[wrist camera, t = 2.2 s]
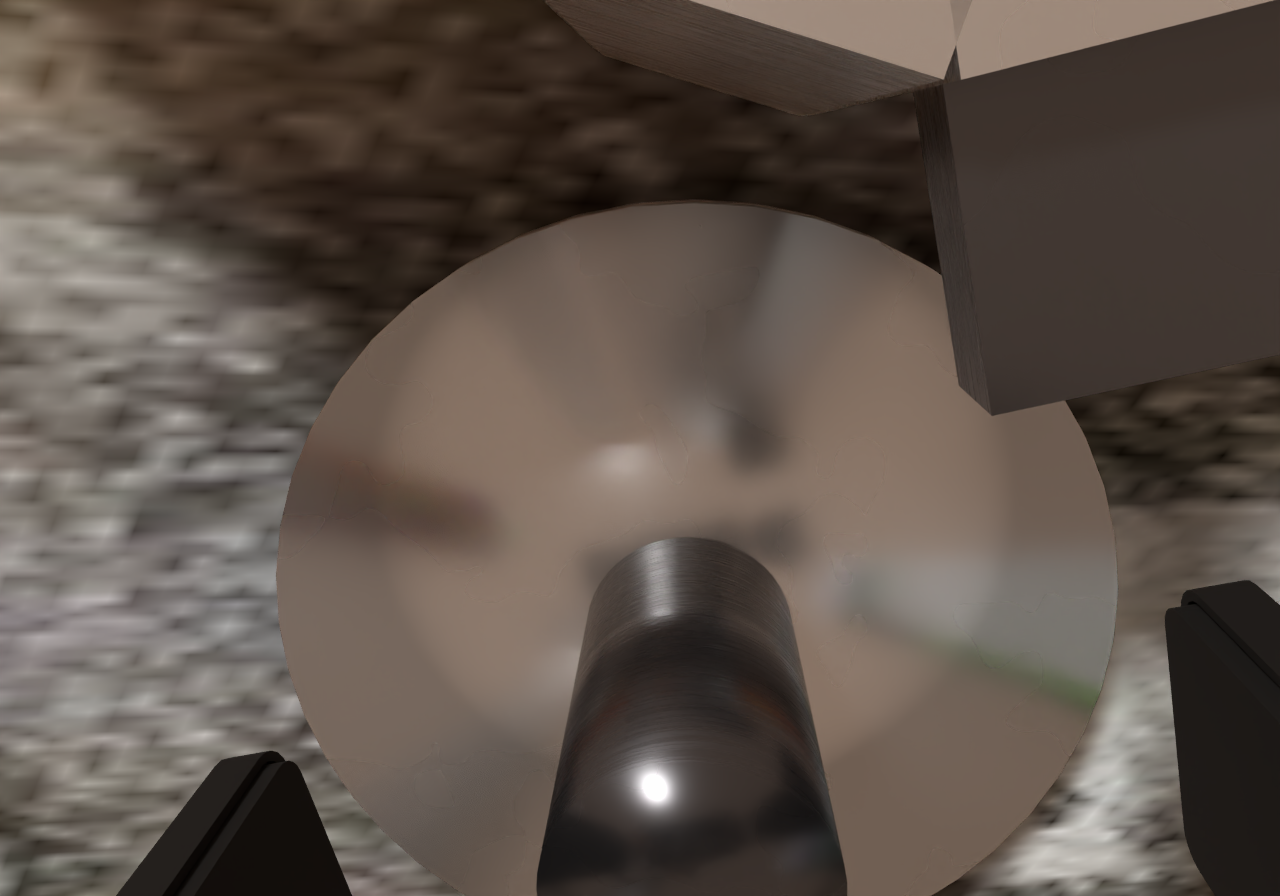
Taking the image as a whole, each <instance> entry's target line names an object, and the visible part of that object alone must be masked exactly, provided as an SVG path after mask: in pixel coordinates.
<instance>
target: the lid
mask: <svg viewBox="0 0 1280 896" xmlns="http://www.w3.org/2000/svg"><path fill="white" fill-rule="evenodd" d="M276 581H277V597H278V614H279V626H280V631H281V636H282V640H283V645H284V650H285V655H286V660H287V665H288V670H289V673H290V676H291V679H292V681H293V684H294V687H295V690H296V693H297V696H298V698H299V701H300V704H301V707H302V710H303V713H304V715H305V717H306V719H307V721H308V723H309V725H310V727H311V729H312V731H313V733H314V735H315V737H316V739H317V741H318V743H319V745H320V747H321V749H322V751H323V753H324V755H325V757H326V758H327V760H328V761H329V763H330V764H331V766H332V767H333V769H334V770H335V771H336V773H337V774H338V776H339V777H340V779H341V780H342V782H343V783H344V785H345V786H346V788H347V789H348V791H349V792H350V793H351V795H352V796H353V798H354V799H355V800H356V801H357V802H358V803H359V804H360V805H361V807H362V808H363V809H364V810H365V811H366V812H367V813H368V815H369V816H370V817H371V818H372V819H373V820H374V821H375V822H376V824H377V825H378V826H379V827H380V828H381V829H382V830H383V832H385V833H386V834H387V835H388V836H389V837H390V838H391V839H392V840H393V841H395V842H396V843H397V844H398V845H399V846H400V847H401V848H402V849H404V850H405V851H406V852H407V853H408V854H409V855H410V856H411V857H412V858H414V859H415V860H416V861H417V862H418V863H419V864H421V865H422V866H423V867H425V868H426V869H428V870H429V871H431V872H432V873H433V874H435V875H436V876H438V877H439V878H440V879H442V880H443V881H445V882H446V883H448V884H449V885H450V886H452V887H453V888H455V889H456V890H457V891H459V892H461V893H463V894H465V895H466V896H932V895H933V894H935V893H936V892H938V891H940V890H941V889H943V888H945V887H946V886H948V885H949V884H951V883H953V882H954V881H956V880H957V879H959V878H960V877H961V876H963V875H964V874H965V873H966V872H968V871H969V870H970V869H971V868H973V867H974V866H975V865H976V864H978V863H979V862H980V861H981V860H983V859H984V858H985V857H986V856H988V855H989V854H990V853H992V852H993V851H994V850H995V849H996V848H997V847H998V846H999V845H1000V844H1001V843H1002V842H1003V841H1004V840H1005V839H1006V838H1007V837H1008V836H1009V835H1010V834H1011V833H1012V832H1013V831H1014V830H1015V829H1016V828H1017V827H1018V826H1019V825H1020V824H1021V823H1022V822H1023V821H1024V820H1025V819H1026V818H1027V817H1028V816H1029V815H1030V814H1031V812H1032V811H1033V810H1034V808H1035V807H1036V806H1037V805H1038V803H1039V802H1040V801H1041V799H1042V798H1043V797H1044V795H1045V794H1046V793H1047V791H1048V790H1049V789H1050V787H1051V786H1052V785H1053V784H1054V782H1055V781H1056V780H1057V778H1058V777H1059V776H1060V774H1061V772H1062V770H1063V769H1064V767H1065V765H1066V763H1067V762H1068V760H1069V758H1070V756H1071V755H1072V753H1073V751H1074V749H1075V748H1076V746H1077V744H1078V742H1079V741H1080V739H1081V737H1082V735H1083V734H1084V731H1085V729H1086V726H1087V724H1088V721H1089V719H1090V716H1091V714H1092V711H1093V709H1094V706H1095V704H1096V701H1097V699H1098V696H1099V694H1100V691H1101V689H1102V685H1103V681H1104V677H1105V673H1106V669H1107V665H1108V661H1109V657H1110V652H1111V648H1112V644H1113V640H1114V630H1115V620H1116V609H1117V598H1118V576H1117V559H1116V541H1115V534H1114V530H1113V525H1112V520H1111V516H1110V511H1109V506H1108V501H1107V497H1106V492H1105V487H1104V485H1103V482H1102V479H1101V477H1100V474H1099V471H1098V469H1097V466H1096V463H1095V461H1094V458H1093V455H1092V453H1091V450H1090V448H1089V445H1088V442H1087V440H1086V437H1085V435H1084V433H1083V432H1082V430H1081V428H1080V426H1079V424H1078V423H1077V421H1076V419H1075V417H1074V416H1073V414H1072V412H1071V410H1070V409H1069V407H1068V405H1067V403H1066V401H1060V402H1055V403H1051V404H1046V405H1041V406H1036V407H1032V408H1027V409H1022V410H1018V411H1013V412H1008V413H1004V414H999V415H994V416H991V415H990V414H989V413H988V412H987V411H986V410H985V409H984V408H982V407H981V406H980V405H979V404H978V403H977V402H976V401H975V400H974V399H973V398H972V397H970V396H969V395H968V394H967V393H966V392H965V391H964V390H963V389H962V388H961V387H960V386H959V384H958V377H957V371H956V364H955V358H954V352H953V345H952V339H951V332H950V326H949V320H948V313H947V307H946V300H945V294H944V288H943V281H942V275H940V274H939V273H937V272H936V271H934V270H933V269H932V268H930V267H928V266H927V265H925V264H923V263H921V262H920V261H918V260H916V259H914V258H912V257H910V256H908V255H906V254H904V253H903V252H901V251H899V250H897V249H895V248H893V247H891V246H889V245H887V244H885V243H883V242H881V241H879V240H877V239H875V238H874V237H872V236H870V235H868V234H865V233H862V232H859V231H856V230H853V229H851V228H848V227H845V226H842V225H839V224H836V223H834V222H831V221H828V220H825V219H822V218H819V217H817V216H814V215H810V214H805V213H800V212H795V211H791V210H786V209H781V208H776V207H771V206H766V205H761V204H756V203H747V202H732V201H717V200H702V199H687V200H672V201H657V202H642V203H633V204H628V205H623V206H618V207H613V208H608V209H603V210H598V211H593V212H588V213H584V214H579V215H575V216H573V217H570V218H567V219H564V220H561V221H558V222H555V223H553V224H550V225H547V226H544V227H541V228H538V229H535V230H533V231H530V232H527V233H524V234H522V235H520V236H518V237H516V238H514V239H512V240H510V241H508V242H506V243H504V244H502V245H500V246H498V247H496V248H494V249H492V250H491V251H489V252H487V253H485V254H483V255H481V256H479V257H477V258H475V259H473V260H471V261H470V262H468V263H467V264H465V265H464V266H462V267H461V268H459V269H458V270H456V271H455V272H454V273H452V274H451V275H449V276H448V277H446V278H445V279H444V280H442V281H441V282H439V283H438V284H436V285H435V286H434V287H432V288H431V289H429V290H428V291H427V292H425V293H424V294H422V295H421V296H419V297H418V298H417V299H415V300H414V301H412V302H411V303H410V304H409V305H408V306H407V307H406V308H405V309H404V310H403V311H402V312H401V313H400V314H399V315H398V316H397V317H395V318H394V319H393V320H392V321H391V322H390V323H389V324H388V325H387V326H386V327H385V328H384V329H383V330H382V331H381V332H380V333H378V334H377V335H376V336H375V337H374V338H373V339H372V340H371V341H370V343H369V344H368V345H367V346H366V348H365V349H364V350H363V352H362V353H361V354H360V355H359V357H358V358H357V359H356V360H355V362H354V363H353V364H352V365H351V367H350V368H349V369H348V370H347V372H346V373H345V374H344V375H343V377H342V378H341V379H340V380H339V382H338V383H337V385H336V386H335V388H334V390H333V392H332V393H331V395H330V397H329V399H328V400H327V402H326V404H325V405H324V407H323V409H322V411H321V412H320V414H319V416H318V418H317V419H316V421H315V423H314V424H313V426H312V428H311V430H310V432H309V435H308V438H307V440H306V443H305V445H304V448H303V450H302V453H301V455H300V458H299V460H298V463H297V465H296V468H295V470H294V473H293V475H292V478H291V483H290V487H289V491H288V495H287V500H286V504H285V508H284V512H283V517H282V521H281V525H280V536H279V547H278V559H277V571H276Z"/></svg>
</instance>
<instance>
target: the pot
mask: <svg viewBox="0 0 1280 896" xmlns="http://www.w3.org/2000/svg"><path fill="white" fill-rule="evenodd" d="M543 1H544V2H545V3H546V4H547V5H548V6H549V7H550V8H551V9H552V10H553V11H555V12H556V13H557V14H558V15H559V16H560V17H561V18H562V19H563V20H564V21H565V22H566V23H567V24H568V25H569V26H570V27H571V28H573V29H574V30H575V31H576V32H577V33H578V34H579V35H580V36H581V37H582V38H583V39H584V40H585V41H586V42H587V43H588V44H589V45H591V46H592V47H593V48H594V49H595V50H596V51H599V52H600V53H601V54H602V55H603V56H606V57H609V58H612V59H615V60H619V61H622V62H625V63H628V64H632V65H635V66H638V67H641V68H645V69H648V70H651V71H654V72H658V73H661V74H664V75H667V76H671V77H674V78H677V79H680V80H684V81H687V82H690V83H693V84H697V85H700V86H703V87H706V88H710V89H713V90H716V91H719V92H723V93H726V94H729V95H732V96H735V97H739V98H742V99H745V100H748V101H752V102H755V103H758V104H761V105H765V106H768V107H771V108H774V109H778V110H781V111H784V112H787V113H791V114H794V115H797V116H803V115H807V117H808V116H812V115H816V114H820V113H824V112H829V111H833V110H837V109H841V108H845V107H850V106H854V105H858V104H862V103H866V102H870V101H875V100H879V99H883V98H887V97H891V96H896V95H900V94H904V93H908V92H912V91H913V96H914V102H915V108H916V115H917V121H918V128H919V134H920V140H921V147H922V153H923V160H924V166H925V172H926V179H927V185H928V192H929V198H930V204H931V211H932V217H933V224H934V230H935V236H936V243H937V249H938V256H939V262H940V268H941V275H942V281H943V288H944V294H945V300H946V307H947V313H948V320H949V326H950V332H951V339H952V345H953V352H954V358H955V364H956V371H957V377H958V384H959V386H960V387H961V388H962V389H963V390H964V391H965V392H966V393H967V394H968V395H969V396H970V397H972V398H973V399H974V400H975V401H976V402H977V403H978V404H979V405H980V406H981V407H982V408H984V409H985V410H986V411H987V412H988V413H989V414H990V415H991V416H994V415H999V414H1004V413H1008V412H1013V411H1018V410H1022V409H1027V408H1032V407H1036V406H1041V405H1046V404H1051V403H1055V402H1060V401H1065V400H1069V399H1074V398H1079V397H1083V396H1088V395H1093V394H1097V393H1102V392H1107V391H1112V390H1116V389H1121V388H1126V387H1130V386H1135V385H1140V384H1144V383H1149V382H1154V381H1158V380H1163V379H1168V378H1173V377H1177V376H1182V375H1187V374H1191V373H1196V372H1201V371H1205V370H1210V369H1215V368H1219V367H1224V366H1229V365H1234V364H1238V363H1243V362H1248V361H1252V360H1257V359H1262V358H1266V357H1271V356H1276V355H1280V0H543Z"/></svg>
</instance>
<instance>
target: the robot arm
mask: <svg viewBox="0 0 1280 896" xmlns="http://www.w3.org/2000/svg"><path fill="white" fill-rule="evenodd" d="M1165 628H1166V639H1167V650H1168V661H1169V672H1170V682H1171V693H1172V704H1173V715H1174V726H1175V736H1176V747H1177V758H1178V769H1179V780H1180V791H1181V801H1182V812H1183V823H1184V831H1185V836H1186V840H1187V844H1188V847H1189V850H1190V852H1191V855H1192V857H1193V860H1194V862H1195V864H1196V866H1197V868H1198V869H1199V871H1200V873H1201V874H1202V876H1203V877H1204V879H1205V881H1206V882H1207V884H1208V885H1209V887H1210V888H1211V890H1212V891H1213V893H1214V895H1215V896H1280V605H1279V604H1278V603H1277V602H1275V601H1274V600H1273V599H1272V598H1271V597H1270V596H1269V595H1267V594H1266V593H1265V592H1264V591H1263V590H1262V589H1261V588H1259V587H1258V586H1257V585H1256V584H1254V583H1253V582H1251V581H1249V580H1243V581H1238V582H1232V583H1226V584H1221V585H1215V586H1209V587H1203V588H1198V589H1192V590H1186V592H1185V593H1184V594H1183V596H1182V601H1181V607H1175V608H1170V609H1168V610H1167V611H1166V615H1165ZM116 896H352V895H351V892H350V890H349V887H348V885H347V882H346V880H345V878H344V875H343V873H342V870H341V868H340V865H339V863H338V861H337V858H336V856H335V853H334V851H333V848H332V846H331V844H330V841H329V839H328V836H327V834H326V831H325V829H324V827H323V824H322V822H321V819H320V817H319V814H318V812H317V810H316V807H315V805H314V802H313V800H312V797H311V795H310V793H309V790H308V788H307V785H306V783H305V781H304V778H303V776H302V773H301V771H300V769H299V768H298V766H297V765H296V764H295V763H294V762H291V761H285V760H284V758H283V757H282V756H281V755H280V754H279V753H278V752H274V751H266V752H261V753H255V754H249V755H244V756H238V757H232V758H227V759H224V760H221V761H220V762H219V763H218V764H217V765H216V766H215V767H214V768H213V770H212V771H211V772H210V774H209V775H208V776H207V778H206V779H205V780H204V782H203V783H202V784H201V785H200V787H199V788H198V789H197V791H196V792H195V793H194V795H193V796H192V797H191V799H190V800H189V801H188V802H187V804H186V805H185V806H184V808H183V809H182V810H181V812H180V813H179V814H178V816H177V817H176V818H175V819H174V821H173V822H172V823H171V825H170V826H169V827H168V829H167V830H166V831H165V833H164V834H163V835H162V836H161V838H160V839H159V840H158V842H157V843H156V844H155V846H154V847H153V848H152V849H151V851H150V852H149V853H148V855H147V856H146V857H145V859H144V860H143V861H142V863H141V864H140V865H139V866H138V868H137V869H136V870H135V872H134V873H133V874H132V876H131V877H130V878H129V880H128V881H127V882H126V883H125V885H124V886H123V887H122V889H121V890H120V891H119V893H118V894H117V895H116Z"/></svg>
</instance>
